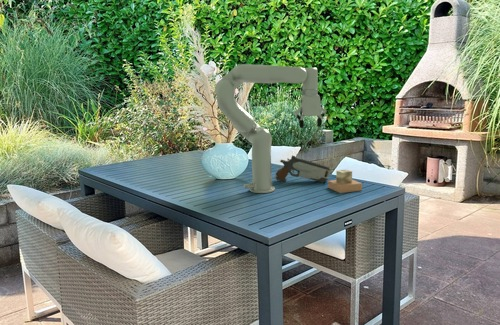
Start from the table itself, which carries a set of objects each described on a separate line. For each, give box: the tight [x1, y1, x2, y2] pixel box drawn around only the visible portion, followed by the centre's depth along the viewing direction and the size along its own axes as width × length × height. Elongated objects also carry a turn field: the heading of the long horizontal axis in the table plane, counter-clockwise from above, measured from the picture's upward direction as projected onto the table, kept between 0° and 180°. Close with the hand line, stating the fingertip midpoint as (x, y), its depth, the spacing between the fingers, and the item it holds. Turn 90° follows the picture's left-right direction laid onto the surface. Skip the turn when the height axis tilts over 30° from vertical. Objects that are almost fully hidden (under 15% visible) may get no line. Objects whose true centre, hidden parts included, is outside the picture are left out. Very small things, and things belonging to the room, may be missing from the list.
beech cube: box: [335, 168, 353, 184], centre depth 211 cm, size 6×6×6 cm
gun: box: [274, 155, 331, 184], centre depth 230 cm, size 5×27×15 cm, turn 79°
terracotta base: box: [327, 179, 363, 194], centre depth 212 cm, size 12×12×4 cm
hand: (310, 127), depth 215 cm, fingers open, 9 cm apart
